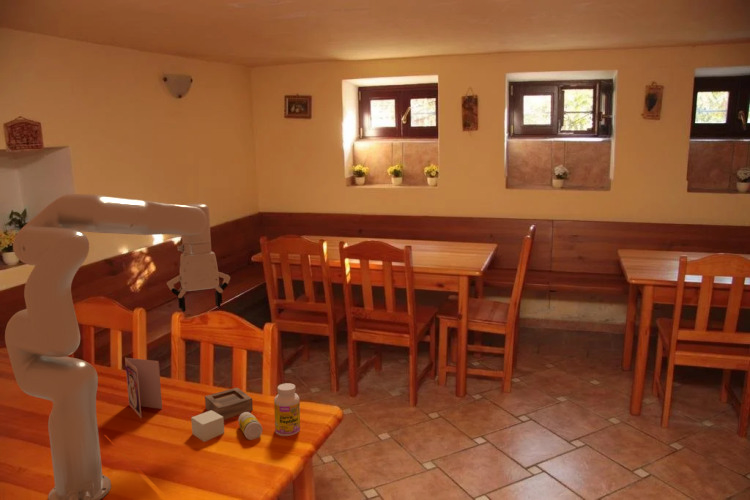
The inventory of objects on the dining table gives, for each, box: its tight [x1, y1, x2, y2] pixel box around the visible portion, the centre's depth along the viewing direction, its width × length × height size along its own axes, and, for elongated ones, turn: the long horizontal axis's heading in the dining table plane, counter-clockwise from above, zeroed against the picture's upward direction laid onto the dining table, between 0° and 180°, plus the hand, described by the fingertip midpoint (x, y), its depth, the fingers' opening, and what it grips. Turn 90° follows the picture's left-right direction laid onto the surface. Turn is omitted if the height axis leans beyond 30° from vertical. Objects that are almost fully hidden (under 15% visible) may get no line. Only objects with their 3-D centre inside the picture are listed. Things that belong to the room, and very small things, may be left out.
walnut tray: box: [204, 387, 254, 421], centre depth 171 cm, size 10×10×5 cm
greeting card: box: [123, 357, 163, 419], centre depth 172 cm, size 11×7×15 cm, turn 39°
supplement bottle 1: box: [237, 411, 263, 441], centre depth 158 cm, size 5×5×8 cm
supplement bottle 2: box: [273, 382, 301, 437], centre depth 157 cm, size 7×7×13 cm
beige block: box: [190, 410, 225, 443], centre depth 157 cm, size 6×6×5 cm
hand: (200, 308), depth 168 cm, fingers open, 9 cm apart
